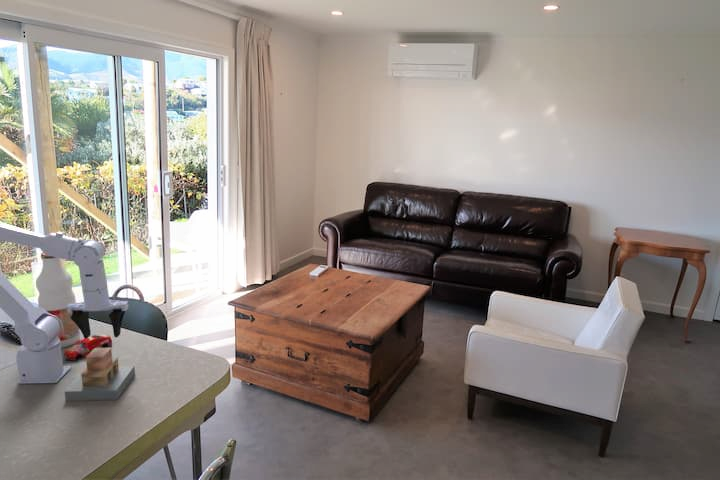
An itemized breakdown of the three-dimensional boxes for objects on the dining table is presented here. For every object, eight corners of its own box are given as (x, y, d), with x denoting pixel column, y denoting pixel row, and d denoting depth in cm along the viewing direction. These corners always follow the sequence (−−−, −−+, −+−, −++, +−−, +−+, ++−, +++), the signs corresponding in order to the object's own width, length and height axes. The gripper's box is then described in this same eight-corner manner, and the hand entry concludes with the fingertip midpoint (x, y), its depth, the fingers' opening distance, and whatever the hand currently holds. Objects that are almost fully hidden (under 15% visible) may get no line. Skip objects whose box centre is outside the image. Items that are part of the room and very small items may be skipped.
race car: (71, 364, 136) (69, 351, 134) (60, 358, 138) (58, 346, 137) (115, 345, 146) (114, 333, 145) (104, 341, 149) (103, 329, 148)
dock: (65, 400, 118) (64, 391, 117) (88, 375, 130) (87, 366, 129) (117, 399, 119) (116, 390, 118) (135, 374, 131) (134, 365, 130)
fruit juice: (83, 343, 147) (72, 254, 140) (46, 352, 141) (32, 259, 134) (77, 332, 154) (66, 246, 147) (42, 340, 148) (29, 251, 141)
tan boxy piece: (82, 386, 120) (81, 373, 119) (96, 369, 127) (95, 357, 127) (106, 385, 120) (104, 373, 119) (118, 369, 128) (117, 357, 127)
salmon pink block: (87, 370, 120) (85, 357, 120) (96, 360, 125) (94, 347, 124) (104, 369, 121) (102, 357, 120) (112, 360, 126) (111, 347, 125)
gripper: (129, 281, 130) (136, 328, 133) (73, 283, 129) (81, 330, 132) (119, 290, 123) (126, 340, 126) (59, 293, 122) (68, 342, 125)
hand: (102, 336), depth 129 cm, fingers open, 7 cm apart
